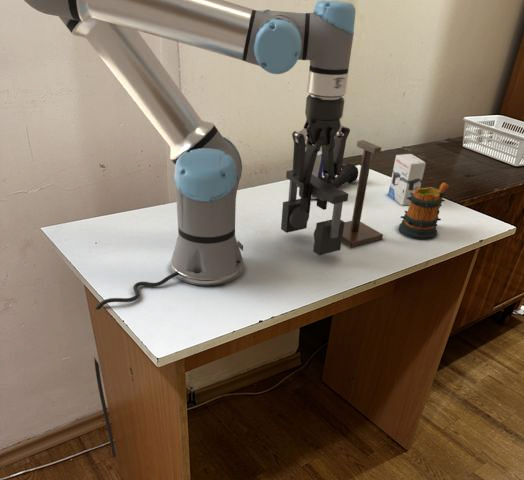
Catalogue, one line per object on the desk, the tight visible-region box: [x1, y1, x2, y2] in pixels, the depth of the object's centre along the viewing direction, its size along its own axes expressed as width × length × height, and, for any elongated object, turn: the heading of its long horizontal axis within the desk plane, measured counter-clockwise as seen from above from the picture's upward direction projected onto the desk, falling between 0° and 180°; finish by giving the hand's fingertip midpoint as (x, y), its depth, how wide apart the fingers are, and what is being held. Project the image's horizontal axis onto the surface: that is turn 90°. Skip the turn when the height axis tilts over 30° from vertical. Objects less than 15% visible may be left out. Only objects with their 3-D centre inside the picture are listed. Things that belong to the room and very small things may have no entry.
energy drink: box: [311, 150, 323, 200], centre depth 142 cm, size 5×5×12 cm
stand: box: [342, 139, 384, 248], centre depth 120 cm, size 10×10×22 cm
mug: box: [397, 182, 450, 241], centre depth 128 cm, size 13×10×12 cm
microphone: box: [331, 163, 359, 189], centre depth 151 cm, size 6×6×20 cm
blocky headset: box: [280, 169, 349, 256], centre depth 115 cm, size 6×17×14 cm, turn 32°
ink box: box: [387, 153, 427, 206], centre depth 144 cm, size 8×5×12 cm, turn 17°
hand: (313, 209), depth 115 cm, fingers closed on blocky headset, 4 cm apart
